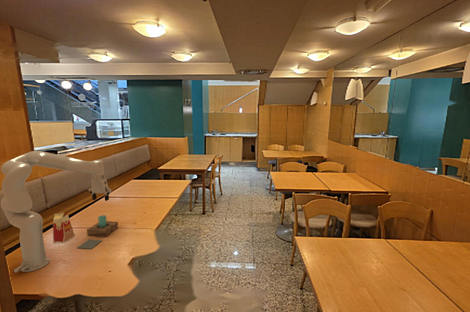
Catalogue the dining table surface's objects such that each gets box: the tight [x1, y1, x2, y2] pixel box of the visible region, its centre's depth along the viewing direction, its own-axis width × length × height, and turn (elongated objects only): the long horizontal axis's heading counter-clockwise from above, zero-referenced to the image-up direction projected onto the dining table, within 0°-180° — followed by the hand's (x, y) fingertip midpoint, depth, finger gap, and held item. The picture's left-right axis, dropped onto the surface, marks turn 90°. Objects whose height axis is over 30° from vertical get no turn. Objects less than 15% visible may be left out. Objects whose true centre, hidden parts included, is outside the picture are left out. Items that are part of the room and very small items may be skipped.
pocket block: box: [86, 220, 119, 238], centre depth 164 cm, size 14×14×5 cm
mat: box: [76, 239, 103, 250], centre depth 147 cm, size 10×10×1 cm
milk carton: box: [52, 212, 76, 244], centre depth 152 cm, size 9×9×20 cm
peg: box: [97, 214, 107, 228], centre depth 163 cm, size 5×5×12 cm
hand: (100, 200), depth 160 cm, fingers open, 9 cm apart
